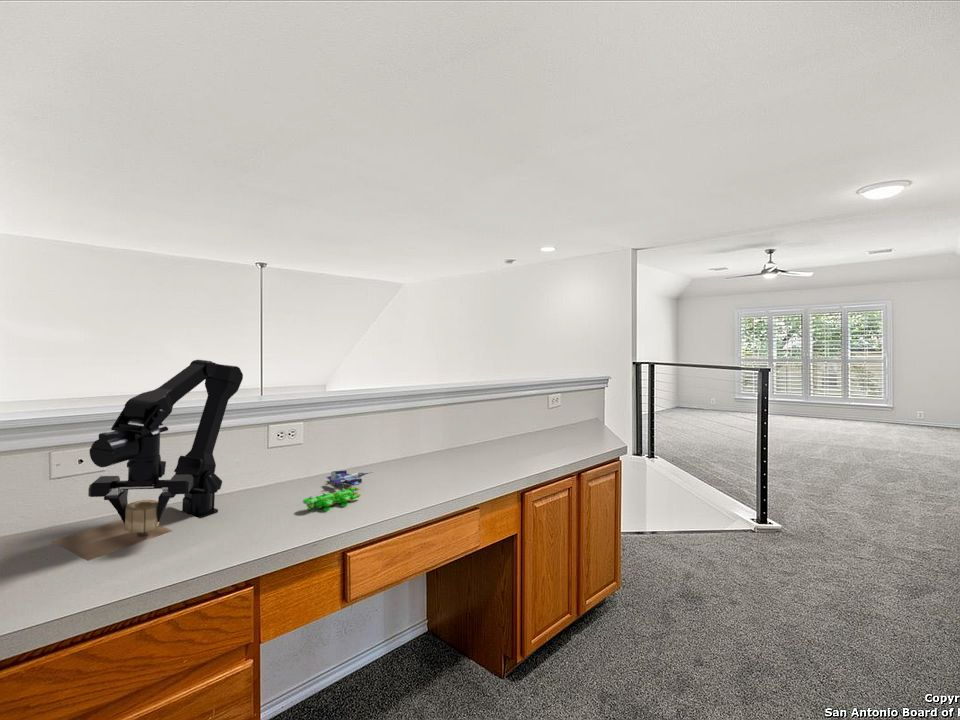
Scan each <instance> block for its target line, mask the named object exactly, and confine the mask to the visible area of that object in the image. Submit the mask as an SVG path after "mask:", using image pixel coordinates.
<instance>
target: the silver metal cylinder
mask: <svg viewBox="0 0 960 720" xmlns="http://www.w3.org/2000/svg"><path fill="white" fill-rule="evenodd" d="M147 534H148V531H146V532H145V531H144V532H137V536H138V537H143V536H146V535H147Z"/></svg>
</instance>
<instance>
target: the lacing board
mask: <svg viewBox="0 0 960 720" xmlns="http://www.w3.org/2000/svg"><path fill="white" fill-rule="evenodd" d="M170 532H173V530H172V529H170V528H167V527H165V526H163V525H161V524H159V525H158V526H157V528H155V529H152V530H149V531H148V534H147V535H146V536H143V537H138V536H137V532H136V533H132V532H129V531H126V530H125V524H124V522H123V521H122V519H119V520H117V521H114V522H111V523H107V524H104V525H101V526H97V527H93V528H90V529H87V530H84V531H81V532H78V533H77V532H76V533H74V534H71V535H68V536H65V537H62V538H58V539H55V540H52V542H53V543H55V544H57V545H58V546H60V547H62V548H64V549H65V550H67V551H69V552H71V553H73V554H74V555H76V556H79V557H80V558H82V559H84V560H86V561H91V560H94V559H97V558H99V557H103V556H105V555H108V554H110V553H113V552H116V551H119V550H120V551H121V550H122V549H123V550H124V549H125V548H129V547H130V546H134V545H136V544H139V543H142V542H145V541H148V540H151V539H153V538H156V537H159V536H163V535H165V534H168V533H170Z"/></svg>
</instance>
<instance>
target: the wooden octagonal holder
mask: <svg viewBox="0 0 960 720" xmlns="http://www.w3.org/2000/svg"><path fill="white" fill-rule="evenodd" d="M157 509H158V500H155V499H141V500H137V501H133V502H130V503H128V505H127V506H126V509H125V530H126V531H129V532H132V533H136V532H144V531H145V532H146V531H149V530H152V529H155V528H157V526H158V525H160V522H157Z"/></svg>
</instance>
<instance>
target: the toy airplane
mask: <svg viewBox="0 0 960 720" xmlns="http://www.w3.org/2000/svg"><path fill="white" fill-rule="evenodd" d="M372 473H373V472H372V471H371V472H370V474H372ZM368 474H369V472H362V471H358V472H356V473H353V474H351V473H348V472H347V470H335V471H331V474H330V476H326V478H327V479H328V480H329V481H330V482H332V483H334V486H338V485H341V484H342V485H341V487H340V488H341V490H342V489H343V488H344V489H345V486H344V484H346V485H352V486H359V485H360V483H362V481H363V479H362V478H361V477H363V476H365V475H368Z"/></svg>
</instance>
